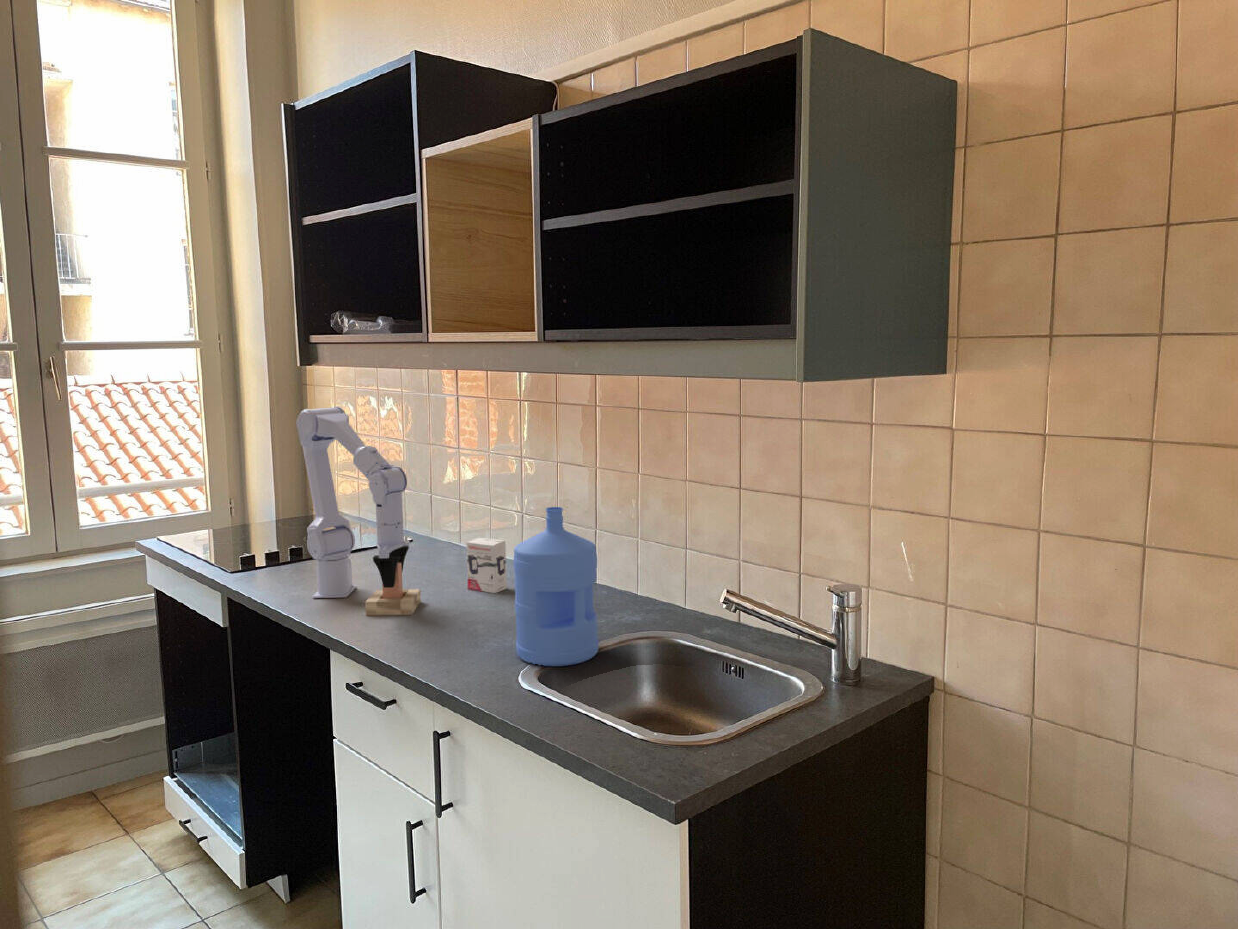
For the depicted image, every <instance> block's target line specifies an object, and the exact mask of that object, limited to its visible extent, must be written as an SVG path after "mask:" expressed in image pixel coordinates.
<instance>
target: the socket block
mask: <svg viewBox="0 0 1238 929" xmlns="http://www.w3.org/2000/svg"><path fill="white" fill-rule="evenodd" d="M421 602H422V596H421V588H403V598H396V599H383V589H376V590H374V592H373V593H372V594H371V595H370V596H369V597H368V598H367V600H366V601H365V603H364V605H365V616H403V615H404V616H405V615H406V616H408V615H410V616H411V615H413V614H414V612H415V611H416V610H417V608H418V607H419V605H420V603H421Z"/></svg>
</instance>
